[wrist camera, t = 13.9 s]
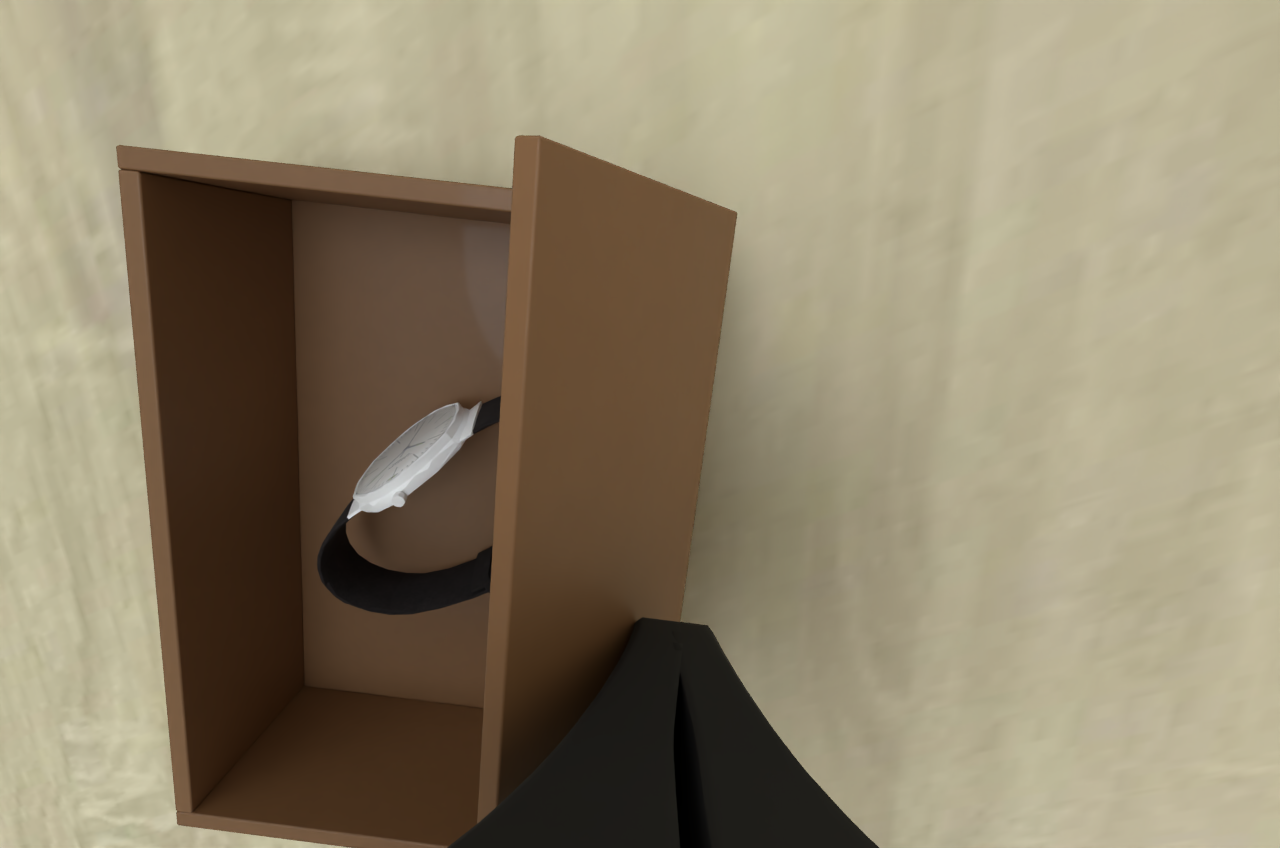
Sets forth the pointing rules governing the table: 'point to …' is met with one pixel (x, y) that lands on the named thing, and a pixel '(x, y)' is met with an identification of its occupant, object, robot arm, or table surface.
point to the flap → (593, 436)
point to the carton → (313, 485)
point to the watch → (390, 485)
